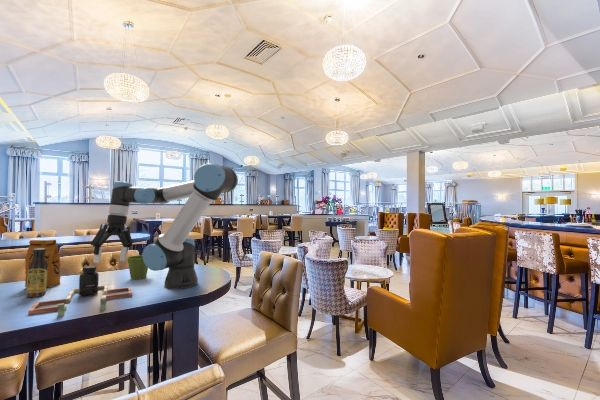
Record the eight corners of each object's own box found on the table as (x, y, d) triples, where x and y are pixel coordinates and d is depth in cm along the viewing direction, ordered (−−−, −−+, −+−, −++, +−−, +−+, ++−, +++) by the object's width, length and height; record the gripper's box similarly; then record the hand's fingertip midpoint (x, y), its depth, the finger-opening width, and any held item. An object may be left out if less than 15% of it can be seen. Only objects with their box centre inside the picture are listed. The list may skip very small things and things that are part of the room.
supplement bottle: (88, 297, 123) (88, 268, 123) (74, 296, 124) (75, 267, 124) (102, 292, 129) (102, 265, 130) (89, 291, 131) (89, 264, 131)
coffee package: (50, 288, 135) (51, 240, 136) (20, 289, 134) (21, 241, 134) (64, 282, 145) (65, 238, 146) (36, 283, 144) (37, 238, 144)
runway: (44, 295, 125) (44, 286, 125) (130, 285, 141) (130, 277, 141) (22, 322, 97) (23, 309, 97) (133, 305, 114) (133, 294, 114)
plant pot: (138, 281, 148) (139, 259, 148) (120, 280, 151) (120, 258, 152) (156, 276, 159) (156, 255, 160) (138, 274, 163) (139, 254, 163)
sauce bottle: (24, 298, 121) (25, 250, 121) (29, 294, 126) (30, 248, 127) (44, 296, 124) (45, 249, 124) (49, 292, 129) (50, 247, 130)
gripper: (132, 217, 148) (125, 259, 145) (86, 211, 124) (76, 262, 121) (144, 218, 146) (138, 261, 143) (100, 212, 122) (91, 264, 119)
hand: (110, 261), depth 132 cm, fingers open, 13 cm apart
